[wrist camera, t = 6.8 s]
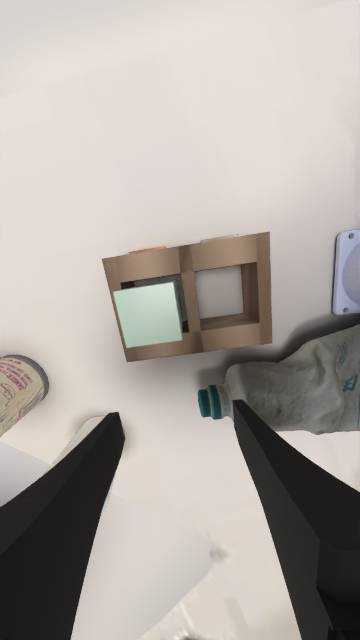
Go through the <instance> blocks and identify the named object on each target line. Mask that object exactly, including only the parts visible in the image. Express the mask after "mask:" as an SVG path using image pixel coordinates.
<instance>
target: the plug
mask: <svg viewBox="0 0 360 640" xmlns="http://www.w3.org/2000/svg"><path fill="white" fill-rule="evenodd" d="M113 295H114V299H115V303H116V307H117V311H118V315H119V319H120V323H121V327H122V331H123V336H124V340H125V344H126V348H130V347H137V346H144V345H151V344H158V343H165V342H172V341H179V340H182V311H181V304H180V298H179V292H178V285H177V280H172V281H165V282H159V283H153V284H146V285H140V286H135V287H131V288H127V289H122V290H118V291H114V292H113Z"/></svg>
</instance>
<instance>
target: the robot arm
mask: <svg viewBox="0 0 360 640" xmlns="http://www.w3.org/2000/svg"><path fill="white" fill-rule="evenodd" d="M349 234H350V239H349V237H348V236H349ZM344 308H345V310H344V311H343V309H344ZM333 313H334V314H335V315H346V314H353V313H360V229H357V230H351V231H345V232H342V233H340V234H339V235H338V237H337V247H336V264H335V280H334V297H333ZM232 402H233V416H234V428H235V431H236V435H237V439H238V442H239V445H240V448H241V451H242V453H243V456H244V459H245V461H246V464H247V466H248V469H249V471H250V474H251V476H252V479H253V481H254V484H255V487H256V489H257V492H258V494H259V497H260V500H261V503H262V506H263V509H264V513H265V516H266V519H267V522H268V525H269V529H270V532H271V535H272V539H273V542H274V545H275V548H276V552H277V555H278V558H279V562H280V565H281V568H282V572H283V575H284V579H285V582H286V586H287V589H288V592H289V596H290V599H291V603H292V606H293V610H294V613H295V617H296V620H297V624H298V627H299V631H300V634H301V638H302V640H360V492H358V491H357V490H355V489H354V488H352V487H350V486H349V485H347V484H345V483H344V482H342V481H340V480H339V479H337V478H336V477H334V476H333V475H331V474H330V473H328V472H327V471H325V470H324V469H322V468H321V467H319V466H318V465H316V464H315V463H313V462H312V461H311V460H309V459H308V458H306V457H305V456H304V455H302V454H301V453H300V452H299V451H297V450H296V449H295V448H293V447H292V446H291V445H290V444H289V443H287V442H286V441H285V440H284V439H283V438H281V437H280V436H279V435H278V434H277V433H276V432H275V431H274V430H272V429H271V428H270V427H269V426H268V425H267V424H266V423H265V422H264V421H263V420H262V419H261V418H260V417H259V416H258V415H257V414H256V413H255V412H254V411H253V410H252V409H251V408H250V406H249V405H248V404H247V403H246V402H245V401H244V400H243V399H238V400H232ZM124 441H125V435H124V431H123V428H122V424H121V420H120V416H119V412H114V413H109V414H108V415H107V416H106V417H105V418H104V419H103V420H102V421H101V422H100V423H99V424H98V425H97V426H96V427H95V428H94V429H93V430H92V431H91V432H90V433H89V434H88V435H87V436H86V437H85V438H84V439H83V440H82V441H81V442H80V443H79V444H78V445H77V446H76V447H75V448H73V449H72V450H71V451H70V452H69V453H68V454H67V455H66V456H65V457H64V458H63V459H62V460H61V461H60V462H58V463H57V464H56V465H55V466H54V467H53V468H51V469H50V470H49V471H48V472H47V473H45V474H44V475H43V476H42V477H41V478H39V479H38V480H37V481H35V483H33V484H31V485H30V486H29V487H28V488H26V489H25V490H24V491H22V492H21V493H20V494H18V495H17V496H16V497H14V498H13V499H12V500H10V501H9V502H7V503H6V504H5V505H3V506H2V507H0V640H70V639H71V635H72V630H73V625H74V621H75V616H76V611H77V607H78V603H79V598H80V594H81V590H82V586H83V582H84V577H85V573H86V569H87V565H88V561H89V557H90V553H91V549H92V545H93V541H94V538H95V534H96V530H97V527H98V523H99V519H100V516H101V513H102V509H103V506H104V503H105V500H106V498H107V495H108V492H109V489H110V486H111V483H112V481H113V478H114V475H115V472H116V469H117V466H118V464H119V461H120V458H121V454H122V450H123V446H124Z"/></svg>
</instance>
